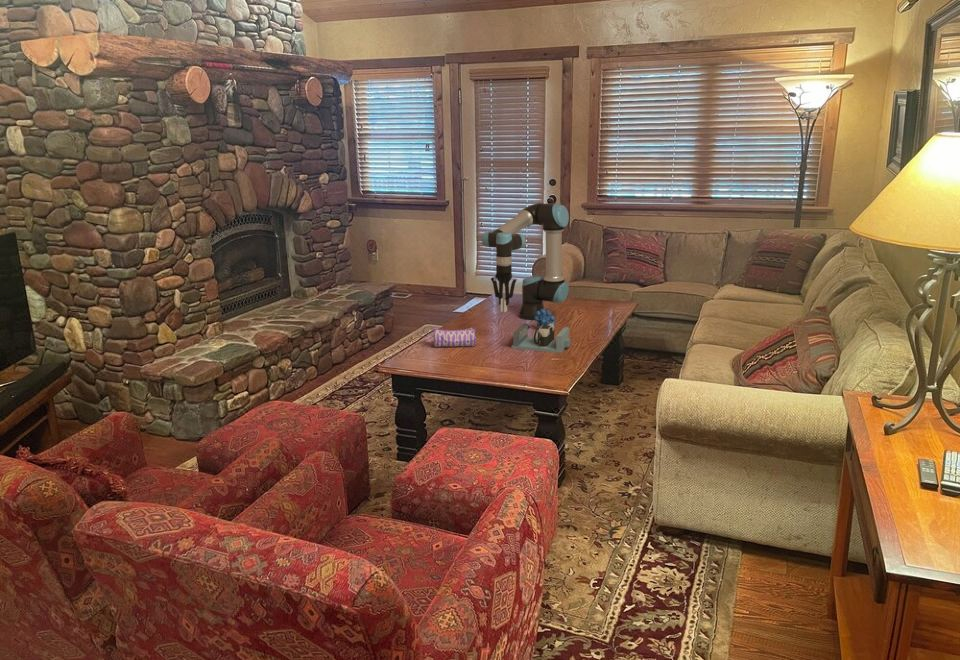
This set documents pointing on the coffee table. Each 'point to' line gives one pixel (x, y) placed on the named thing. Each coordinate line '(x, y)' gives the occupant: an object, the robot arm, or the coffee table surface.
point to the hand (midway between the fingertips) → (504, 311)
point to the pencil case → (454, 337)
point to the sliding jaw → (521, 334)
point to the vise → (555, 346)
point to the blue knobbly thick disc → (544, 318)
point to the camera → (544, 335)
